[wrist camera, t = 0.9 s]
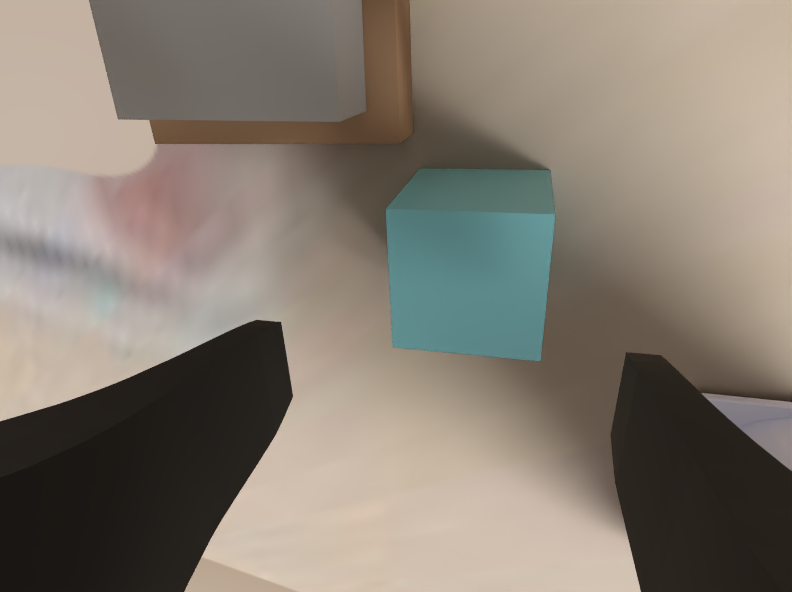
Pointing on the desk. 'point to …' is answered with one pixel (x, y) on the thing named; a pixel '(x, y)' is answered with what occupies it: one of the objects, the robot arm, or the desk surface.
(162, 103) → the gray slab
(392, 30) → the walnut slab
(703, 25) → the desk surface
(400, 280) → the teal block
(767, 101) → the desk surface
